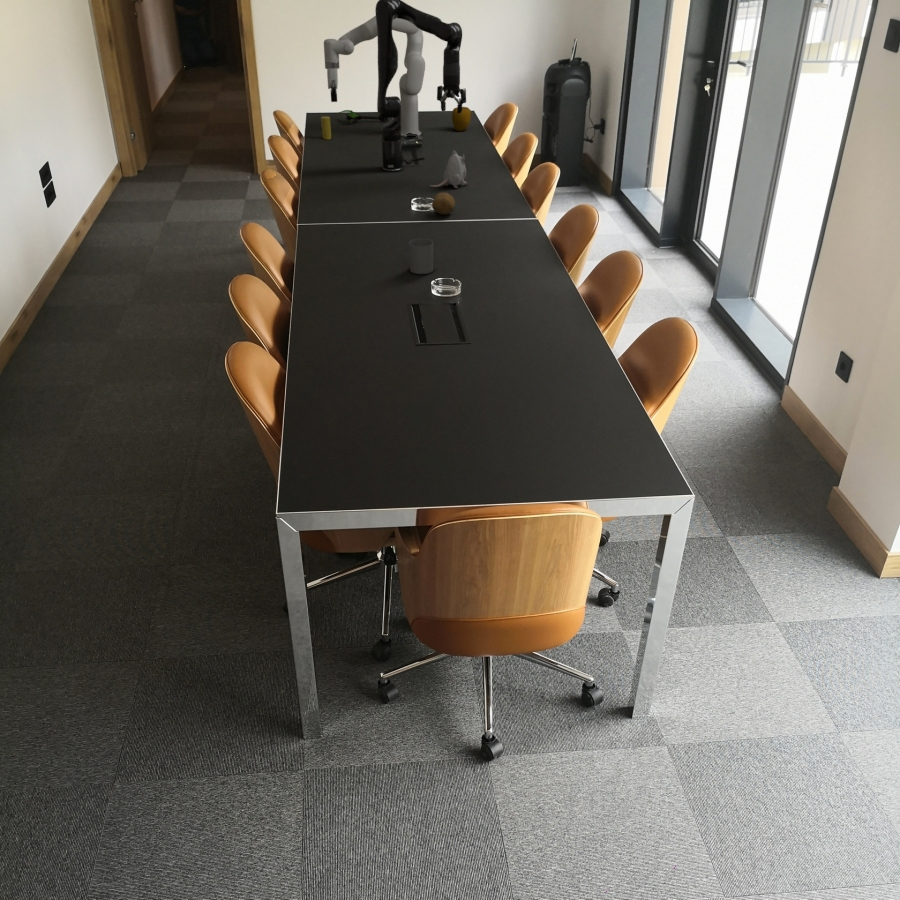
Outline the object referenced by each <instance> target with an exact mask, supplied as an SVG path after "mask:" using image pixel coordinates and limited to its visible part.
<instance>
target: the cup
mask: <svg viewBox="0 0 900 900" xmlns="http://www.w3.org/2000/svg"><path fill="white" fill-rule="evenodd" d="M408 253H409V272H411V273H412V274H416V275H426V274H430V273H432V272H434V241H433V240H431V239H428V238H422V237H421V238H420V237H419V238H414V239H411V240H410V241H409V242H408Z"/></svg>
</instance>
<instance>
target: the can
mask: <svg viewBox="0 0 900 900" xmlns="http://www.w3.org/2000/svg"><path fill="white" fill-rule="evenodd" d="M320 121H321V133H322V140H332V126H331V116H325V115H324V116H321V117H320Z"/></svg>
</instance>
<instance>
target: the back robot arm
mask: <svg viewBox="0 0 900 900" xmlns="http://www.w3.org/2000/svg"><path fill="white" fill-rule="evenodd" d="M392 31H395V32H399V33H404V34H406V46H405V47H406V48H405V53H404V59H403V65H404V67H405V69H406V73H404V74H402V75H401V77H400V78H399V81H398V88H399V96H400V97H399V99H400V101H401V137H404V138H408V137H407V135H406V134H408V133H412V134H417V135H418V136H417V137H420V136H421V135H422V131H420V130H419V96H418V94H420V93H421V91H422V88H423V84H424V83H423V82H424V79H425V78H424V77H425V71H426V61H425V58H424V57H423V56H422V55H423V48H424V33H423V31H422V30H420V29H419V28H417V27H416V26H415V25H413V24H412V23H411V22H409V21H407V20H404V19H399V18H395V19H393V21H392ZM375 38H378V34H377V23H376V15H374V16H373V17H372V18H369V19H368V20H367V21H365V22H364V23H362V24H360V25H357V26H356V27H354V28H352V29H351V30H349V31H347V32H346V33H345V34H343V35H341V36H340V37H339V38H338V39H336V38H326V39H324V40H323V54H324V69H326V75H327V89H328V90H330V102H331V103H338V92H337V91H338V86H339V85H338V84H339V81H338V80H339V77H338V70H340V67H341V66H340V55H341V56H349V55H352V54H353V53H354V51H355V47H356V46H357V45H359V44H360V43H363V42H367V41H371V40H374V39H375Z"/></svg>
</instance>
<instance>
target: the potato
mask: <svg viewBox="0 0 900 900" xmlns="http://www.w3.org/2000/svg"><path fill="white" fill-rule="evenodd" d="M455 206H456V200H455V198H454V196H452V195H451V194H449V193H448V192H439V193H437V194H436V195H435V197H434V198H433V200H432V201H431V207H432V209H433V210H434V212H436V213H437V214H439V215H441V216H442V215H449V214H450V213H452V212H453V211H454V209H455Z"/></svg>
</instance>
